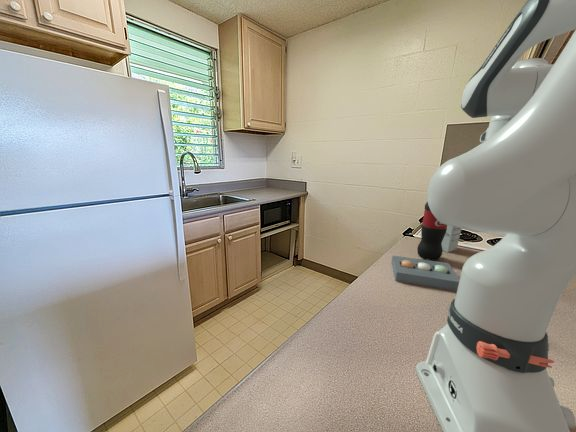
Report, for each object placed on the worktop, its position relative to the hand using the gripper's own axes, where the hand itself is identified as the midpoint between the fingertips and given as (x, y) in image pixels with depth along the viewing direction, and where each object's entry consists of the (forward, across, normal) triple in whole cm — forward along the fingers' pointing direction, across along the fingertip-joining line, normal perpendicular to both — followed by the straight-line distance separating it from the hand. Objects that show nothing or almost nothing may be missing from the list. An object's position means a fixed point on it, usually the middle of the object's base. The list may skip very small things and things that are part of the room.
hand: (495, 187), depth 66 cm
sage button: (+29, +4, +8) cm, 30 cm away
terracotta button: (+29, +4, +18) cm, 34 cm away
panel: (+31, +4, +12) cm, 34 cm away
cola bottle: (+31, +22, +7) cm, 39 cm away
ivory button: (+29, +4, +12) cm, 32 cm away
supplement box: (+31, +36, -2) cm, 48 cm away
